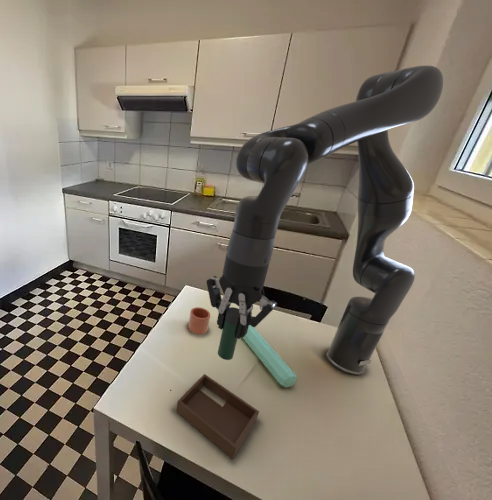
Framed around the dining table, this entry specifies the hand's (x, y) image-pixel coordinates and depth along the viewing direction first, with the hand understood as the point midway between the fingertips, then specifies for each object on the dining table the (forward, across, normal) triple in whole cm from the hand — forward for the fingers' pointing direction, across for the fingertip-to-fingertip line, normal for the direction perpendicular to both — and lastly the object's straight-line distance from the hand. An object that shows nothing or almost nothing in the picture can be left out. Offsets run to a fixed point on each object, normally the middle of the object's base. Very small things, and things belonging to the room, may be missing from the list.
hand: (230, 331), depth 57 cm
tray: (+22, -2, +2) cm, 22 cm away
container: (+23, -1, -25) cm, 34 cm away
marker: (+6, 0, 0) cm, 6 cm away
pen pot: (+22, +18, -21) cm, 36 cm away
